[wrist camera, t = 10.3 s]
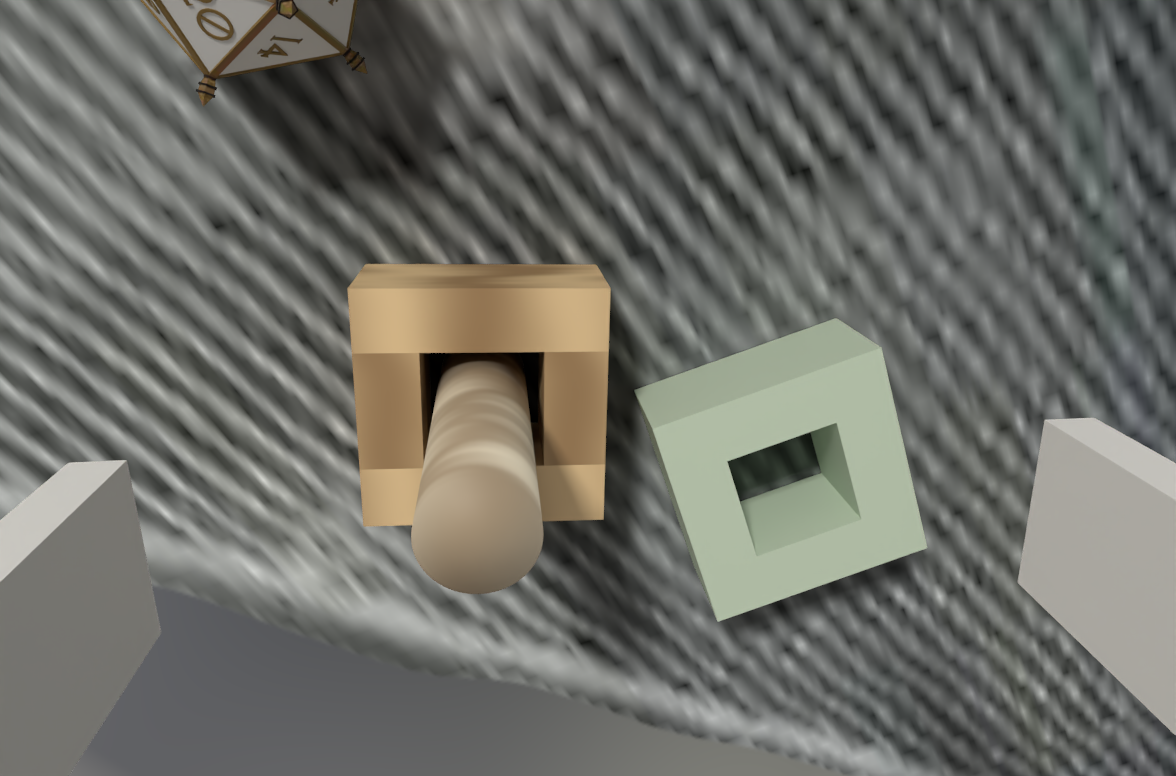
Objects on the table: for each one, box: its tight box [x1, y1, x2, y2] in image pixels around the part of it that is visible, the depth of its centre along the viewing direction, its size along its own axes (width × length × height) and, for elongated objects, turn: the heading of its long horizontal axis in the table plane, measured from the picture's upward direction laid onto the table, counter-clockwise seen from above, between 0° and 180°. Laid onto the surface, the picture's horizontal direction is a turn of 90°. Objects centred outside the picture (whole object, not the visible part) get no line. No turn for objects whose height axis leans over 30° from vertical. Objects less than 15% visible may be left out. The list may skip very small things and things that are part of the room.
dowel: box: [411, 352, 544, 594], centre depth 29 cm, size 3×3×14 cm
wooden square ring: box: [348, 264, 611, 526], centre depth 34 cm, size 9×9×4 cm
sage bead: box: [634, 318, 927, 622], centre depth 36 cm, size 9×9×4 cm
